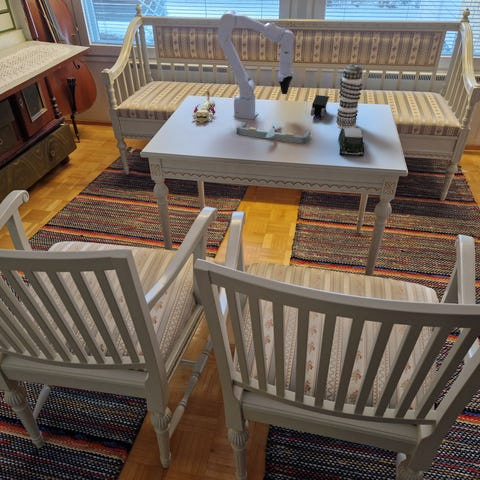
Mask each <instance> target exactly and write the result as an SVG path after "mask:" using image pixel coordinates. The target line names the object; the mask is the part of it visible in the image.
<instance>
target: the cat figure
mask: <svg viewBox="0 0 480 480" xmlns="http://www.w3.org/2000/svg"><path fill="white" fill-rule="evenodd" d="M210 96H211V95H210V91H209V90H207V91H206V100H204V101H203V103H202V105H201V103H199V104H198V105H196V106H195V107H194V110H193V114H192V117H193V118H195V120H196V121H198V122H199V123H200V124H201V123H205V122H207V121H210V120H211V118H214V116H215V114H216V110H215V108H214V106H216V103H215V102H214V100H210ZM199 106H201V108H200V109H198V108H199ZM209 109H210V111H211V112H209Z"/></svg>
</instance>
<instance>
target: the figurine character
mask: <svg viewBox="0 0 480 480" xmlns="http://www.w3.org/2000/svg"><path fill="white" fill-rule="evenodd" d="M329 99H330V96H328V95H321V94H316V95H315V97H314V100H313V102H312V103H311V110H310V116H311V117H312V118H313V120H316V118H319V121H321V120H322V118H323V117H325V115H326V114H327V104H328V101H329Z"/></svg>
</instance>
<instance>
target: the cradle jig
mask: <svg viewBox="0 0 480 480" xmlns="http://www.w3.org/2000/svg"><path fill="white" fill-rule="evenodd" d="M269 131H270V130H264V129H263V130H262V129H257V127H251V126H249V128H248V122H246V121H243V122H242V123H241V124H240V125H238V126H237V127H236V134H237V135H244V136H248V137H249V136H251V137H257V138H263V139H270V140H276V141H282V142H290V143H295V144H303V145H304V144H305V145H306V143H307V142H308V141H309V139H310V138H311V130H307V131H306V132H305V133H304V134H303V135H296V134H294V133H293V132H285V133H283V132H275V135H274V136H272V137H269V138H266V135H267V133H268V132H269Z"/></svg>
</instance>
